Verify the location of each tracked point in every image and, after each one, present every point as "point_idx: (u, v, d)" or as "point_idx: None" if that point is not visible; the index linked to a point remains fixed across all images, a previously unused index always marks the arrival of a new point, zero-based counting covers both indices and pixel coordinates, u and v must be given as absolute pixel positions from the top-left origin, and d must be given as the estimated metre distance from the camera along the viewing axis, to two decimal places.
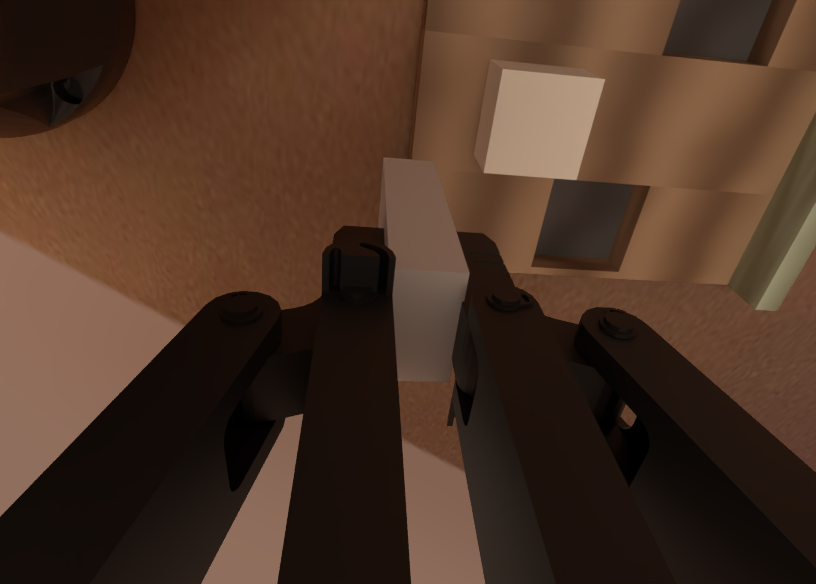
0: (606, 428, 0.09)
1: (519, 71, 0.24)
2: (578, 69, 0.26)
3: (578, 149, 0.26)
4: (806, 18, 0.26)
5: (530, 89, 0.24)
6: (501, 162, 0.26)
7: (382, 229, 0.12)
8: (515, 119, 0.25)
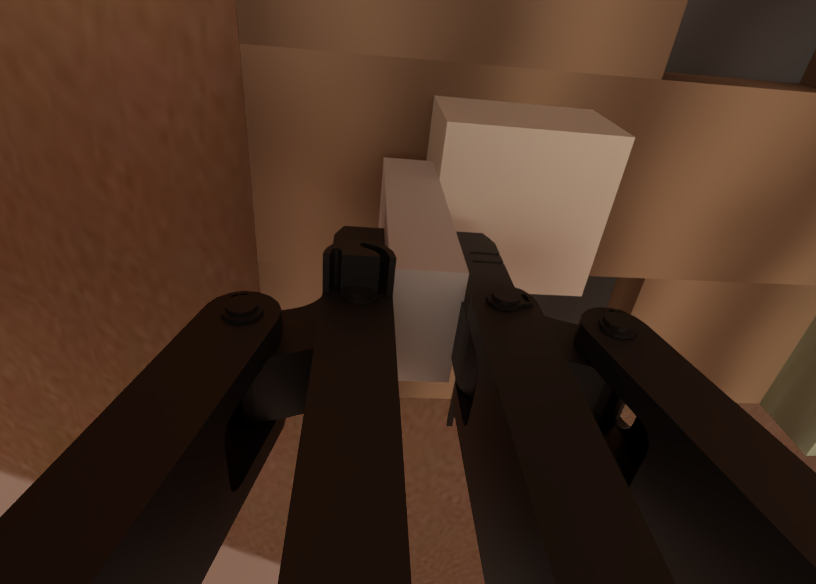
0: (606, 428, 0.09)
1: (478, 125, 0.13)
2: (585, 112, 0.15)
3: (584, 250, 0.15)
4: None
5: (500, 155, 0.13)
6: None
7: (382, 229, 0.12)
8: (474, 205, 0.14)
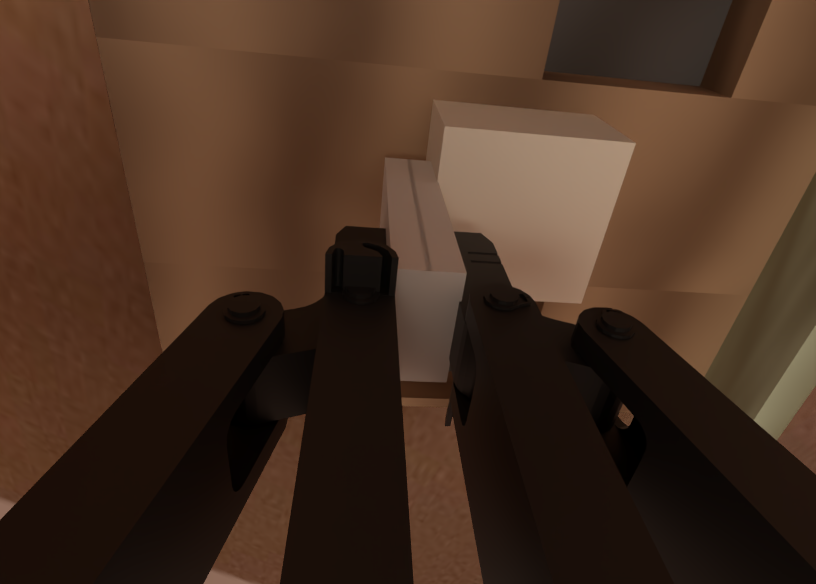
0: (603, 428, 0.09)
1: (476, 130, 0.13)
2: (586, 117, 0.15)
3: (585, 257, 0.15)
4: (798, 13, 0.14)
5: (498, 161, 0.13)
6: None
7: (384, 229, 0.12)
8: (472, 211, 0.14)
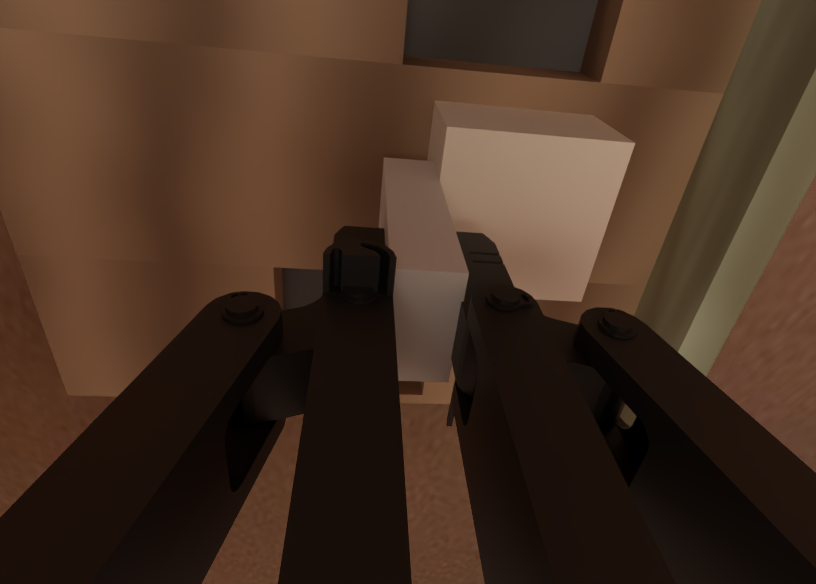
0: (606, 428, 0.09)
1: (478, 130, 0.13)
2: (585, 118, 0.15)
3: (584, 256, 0.15)
4: None
5: (499, 160, 0.13)
6: None
7: (382, 229, 0.12)
8: (474, 211, 0.14)
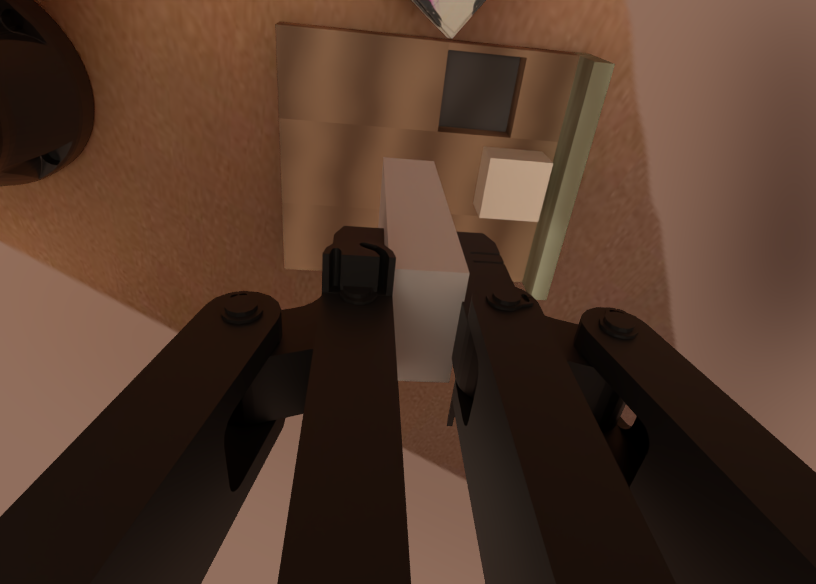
0: (606, 428, 0.09)
1: (500, 159, 0.39)
2: (539, 153, 0.41)
3: (538, 203, 0.41)
4: (528, 109, 0.40)
5: (507, 169, 0.39)
6: (490, 211, 0.41)
7: (382, 229, 0.12)
8: (498, 186, 0.40)
